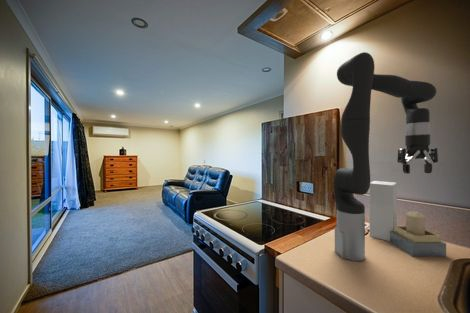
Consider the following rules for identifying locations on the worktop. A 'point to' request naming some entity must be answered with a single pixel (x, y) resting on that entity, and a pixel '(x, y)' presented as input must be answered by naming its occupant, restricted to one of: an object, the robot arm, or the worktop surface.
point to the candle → (415, 223)
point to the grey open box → (418, 243)
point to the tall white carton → (382, 209)
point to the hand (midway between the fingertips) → (417, 173)
